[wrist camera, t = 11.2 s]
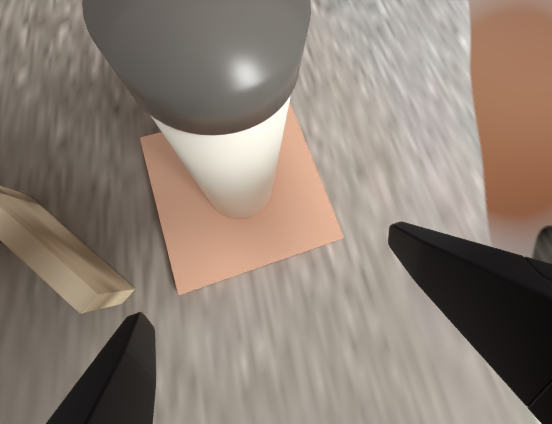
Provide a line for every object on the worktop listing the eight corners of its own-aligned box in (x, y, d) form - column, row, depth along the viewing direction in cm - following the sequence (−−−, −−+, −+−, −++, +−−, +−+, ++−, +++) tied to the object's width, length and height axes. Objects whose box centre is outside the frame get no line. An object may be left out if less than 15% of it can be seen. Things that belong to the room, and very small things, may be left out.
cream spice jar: (286, 179, 19) (349, -12, 6) (247, 233, 17) (222, 138, 5) (232, 143, 19) (184, -110, 6) (190, 194, 18) (29, 7, 5)
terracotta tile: (340, 239, 19) (343, 237, 18) (182, 294, 17) (178, 295, 16) (287, 105, 21) (288, 99, 20) (144, 142, 19) (139, 137, 19)
